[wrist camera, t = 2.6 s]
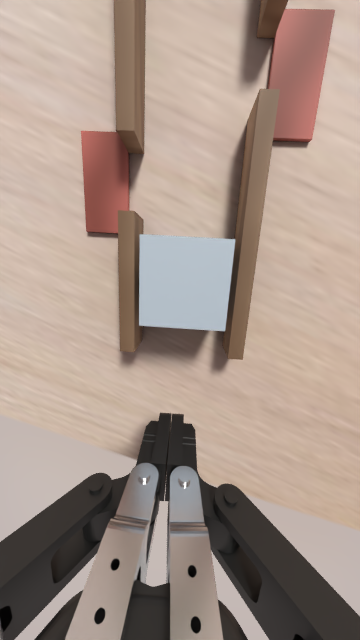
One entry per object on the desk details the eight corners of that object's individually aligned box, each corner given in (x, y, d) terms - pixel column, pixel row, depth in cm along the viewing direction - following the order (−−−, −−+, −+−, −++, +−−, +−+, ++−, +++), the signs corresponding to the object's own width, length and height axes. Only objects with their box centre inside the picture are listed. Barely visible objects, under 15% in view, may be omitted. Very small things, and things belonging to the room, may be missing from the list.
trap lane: (390, -322, 9) (482, -592, 6) (273, 348, 17) (290, 366, 14) (61, -311, 10) (5, -556, 7) (93, 336, 17) (74, 350, 15)
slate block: (222, 246, 15) (235, 239, 11) (216, 314, 17) (224, 331, 12) (153, 242, 16) (139, 234, 11) (152, 310, 17) (139, 325, 12)
